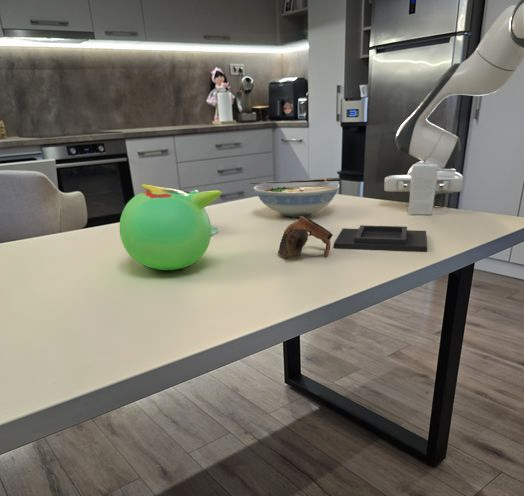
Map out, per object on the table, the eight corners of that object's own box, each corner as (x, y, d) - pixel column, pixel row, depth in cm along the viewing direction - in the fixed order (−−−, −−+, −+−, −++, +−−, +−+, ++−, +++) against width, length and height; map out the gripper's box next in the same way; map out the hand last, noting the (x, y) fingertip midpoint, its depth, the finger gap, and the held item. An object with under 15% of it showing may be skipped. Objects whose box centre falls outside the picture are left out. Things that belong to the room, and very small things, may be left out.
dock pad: (425, 235, 104) (426, 226, 103) (426, 251, 92) (428, 241, 91) (342, 232, 109) (342, 223, 108) (333, 248, 97) (333, 238, 96)
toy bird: (118, 261, 93) (105, 181, 86) (201, 250, 99) (195, 174, 92) (136, 288, 78) (122, 194, 72) (233, 272, 84) (228, 185, 78)
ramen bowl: (250, 224, 120) (248, 190, 116) (251, 208, 140) (250, 179, 137) (349, 221, 120) (351, 187, 116) (336, 205, 140) (337, 176, 137)
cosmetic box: (431, 212, 127) (437, 163, 122) (432, 215, 124) (438, 165, 118) (407, 211, 129) (412, 164, 123) (408, 214, 125) (412, 165, 119)
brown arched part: (281, 250, 98) (301, 213, 96) (320, 274, 97) (341, 237, 94) (263, 249, 87) (285, 208, 85) (306, 276, 86) (330, 235, 83)
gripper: (385, 169, 138) (382, 174, 126) (461, 168, 132) (466, 174, 121) (384, 192, 141) (381, 199, 129) (458, 192, 135) (462, 200, 123)
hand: (423, 187), depth 125 cm, fingers open, 8 cm apart
